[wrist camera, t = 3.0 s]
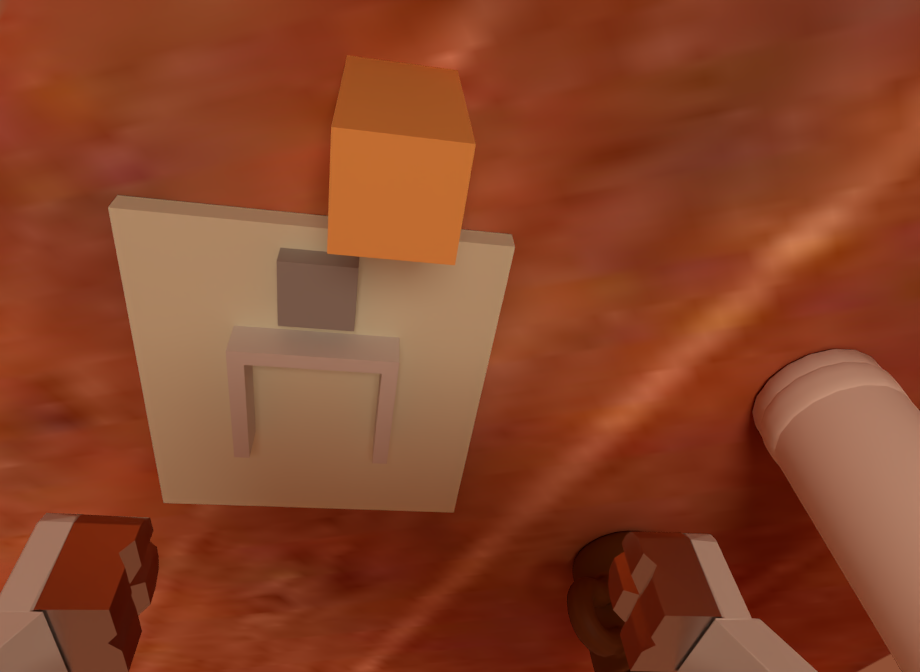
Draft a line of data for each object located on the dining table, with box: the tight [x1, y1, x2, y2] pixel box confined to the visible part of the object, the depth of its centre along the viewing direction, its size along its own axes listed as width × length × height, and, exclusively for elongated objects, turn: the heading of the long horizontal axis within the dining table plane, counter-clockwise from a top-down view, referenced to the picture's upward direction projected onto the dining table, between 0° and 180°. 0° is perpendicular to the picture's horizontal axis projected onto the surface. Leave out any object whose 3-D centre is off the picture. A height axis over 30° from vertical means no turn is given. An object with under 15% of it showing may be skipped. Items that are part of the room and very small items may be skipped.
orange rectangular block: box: [327, 55, 476, 265], centre depth 25 cm, size 4×4×8 cm
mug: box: [567, 531, 650, 672], centre depth 45 cm, size 12×8×9 cm, turn 44°
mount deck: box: [108, 195, 515, 513], centre depth 35 cm, size 20×18×3 cm
